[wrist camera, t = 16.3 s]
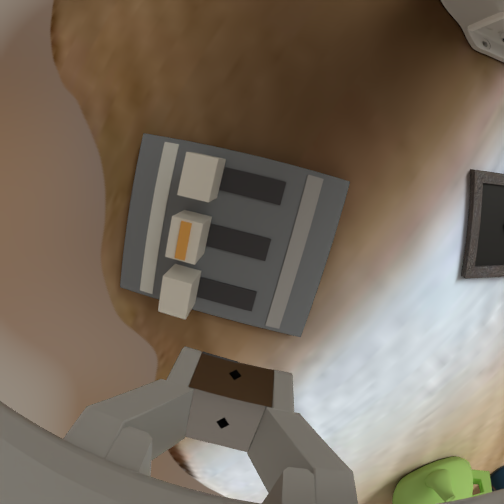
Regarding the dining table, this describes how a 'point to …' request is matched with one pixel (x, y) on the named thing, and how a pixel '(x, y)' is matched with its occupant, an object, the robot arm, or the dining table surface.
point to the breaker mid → (188, 236)
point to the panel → (236, 233)
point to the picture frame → (485, 226)
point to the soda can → (497, 479)
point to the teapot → (441, 483)
